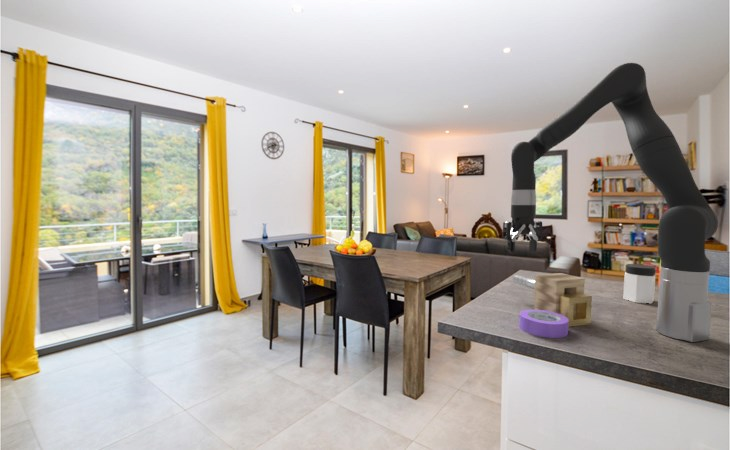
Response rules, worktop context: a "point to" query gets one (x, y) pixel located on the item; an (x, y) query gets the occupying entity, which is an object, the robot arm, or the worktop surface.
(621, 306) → the worktop surface
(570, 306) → the block
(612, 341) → the worktop surface
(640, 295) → the jar
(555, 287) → the tan wooden block
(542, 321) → the masking tape
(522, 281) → the shaft
